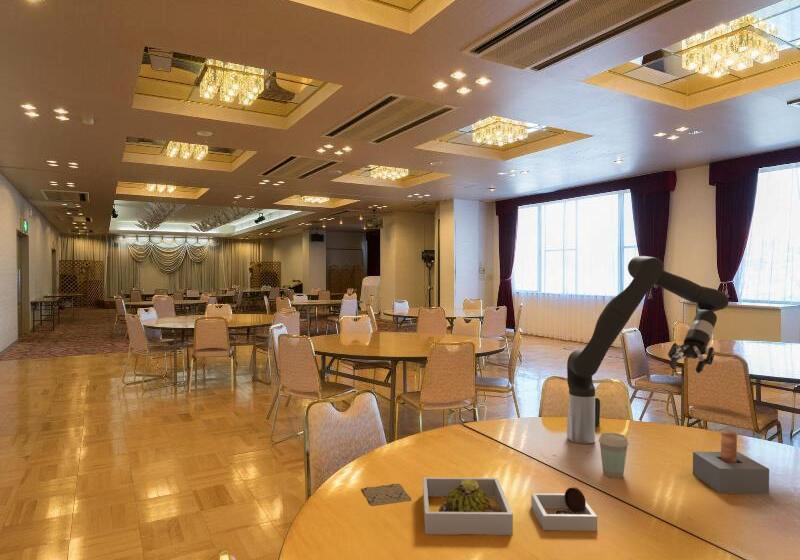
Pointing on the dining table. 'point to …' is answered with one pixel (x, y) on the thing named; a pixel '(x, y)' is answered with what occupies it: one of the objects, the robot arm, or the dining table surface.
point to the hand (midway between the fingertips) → (684, 369)
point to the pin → (728, 447)
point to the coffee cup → (613, 454)
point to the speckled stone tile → (385, 494)
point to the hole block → (731, 473)
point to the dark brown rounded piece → (573, 501)
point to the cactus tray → (466, 520)
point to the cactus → (467, 499)
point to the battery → (597, 411)
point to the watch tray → (561, 521)
